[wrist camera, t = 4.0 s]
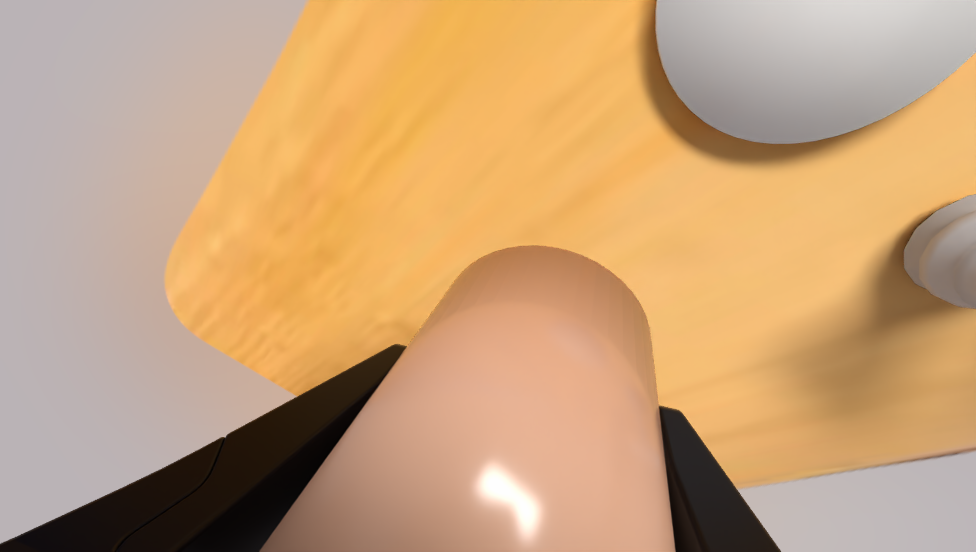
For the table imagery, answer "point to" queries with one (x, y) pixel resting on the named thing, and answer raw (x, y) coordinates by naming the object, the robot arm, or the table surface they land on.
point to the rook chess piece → (946, 253)
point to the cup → (504, 425)
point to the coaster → (808, 61)
